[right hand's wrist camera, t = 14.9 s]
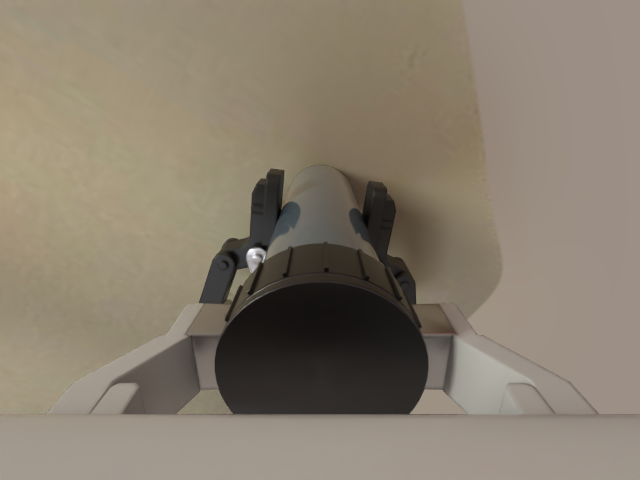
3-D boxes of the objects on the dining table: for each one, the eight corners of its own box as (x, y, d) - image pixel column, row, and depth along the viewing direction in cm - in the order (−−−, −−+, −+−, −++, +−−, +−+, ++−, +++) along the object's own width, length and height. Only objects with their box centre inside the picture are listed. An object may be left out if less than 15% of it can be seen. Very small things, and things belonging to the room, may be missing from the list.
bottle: (275, 199, 25) (198, 361, 9) (318, 151, 23) (314, 241, 8) (322, 239, 26) (327, 444, 10) (365, 195, 25) (446, 351, 9)
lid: (301, 412, 12) (297, 478, 10) (196, 302, 10) (163, 353, 8) (439, 340, 11) (469, 397, 9) (346, 203, 9) (354, 232, 7)
